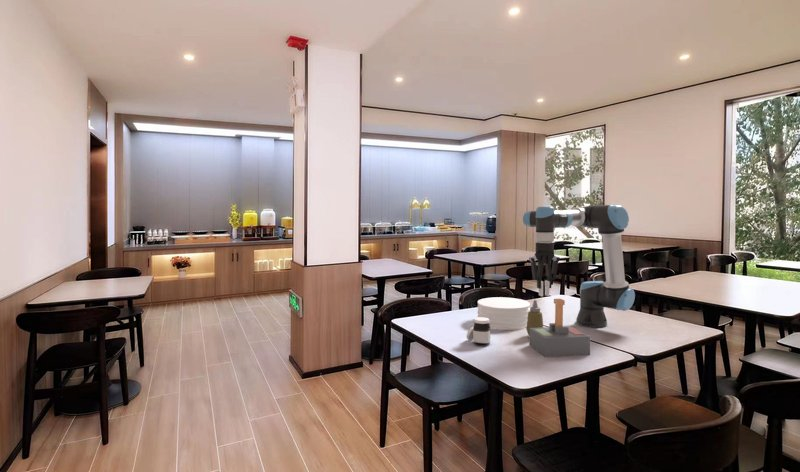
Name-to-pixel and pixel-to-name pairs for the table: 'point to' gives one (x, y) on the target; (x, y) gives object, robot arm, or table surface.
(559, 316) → the breaker lever
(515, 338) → the table surface
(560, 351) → the switch block
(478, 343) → the spread jar
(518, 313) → the plate stack
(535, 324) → the squeeze bottle
